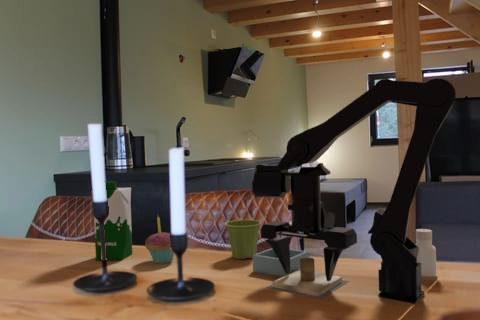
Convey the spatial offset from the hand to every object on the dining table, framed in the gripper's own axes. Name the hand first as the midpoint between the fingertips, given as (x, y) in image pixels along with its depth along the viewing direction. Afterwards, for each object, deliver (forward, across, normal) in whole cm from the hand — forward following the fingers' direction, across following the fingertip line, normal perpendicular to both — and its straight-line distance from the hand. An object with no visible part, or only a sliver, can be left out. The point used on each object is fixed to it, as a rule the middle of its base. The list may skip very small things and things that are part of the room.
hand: (307, 276), depth 87 cm
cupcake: (+2, +40, +2) cm, 40 cm away
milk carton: (+2, +54, +6) cm, 54 cm away
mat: (+2, 0, 0) cm, 2 cm away
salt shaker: (+2, -17, -19) cm, 26 cm away
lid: (+2, 0, 0) cm, 2 cm away
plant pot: (+2, +25, -12) cm, 28 cm away
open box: (+2, +10, -6) cm, 12 cm away
